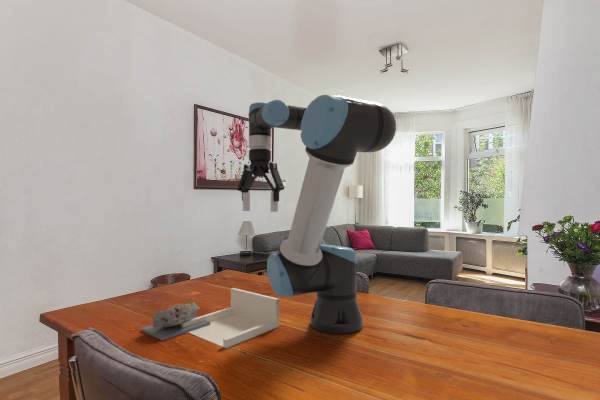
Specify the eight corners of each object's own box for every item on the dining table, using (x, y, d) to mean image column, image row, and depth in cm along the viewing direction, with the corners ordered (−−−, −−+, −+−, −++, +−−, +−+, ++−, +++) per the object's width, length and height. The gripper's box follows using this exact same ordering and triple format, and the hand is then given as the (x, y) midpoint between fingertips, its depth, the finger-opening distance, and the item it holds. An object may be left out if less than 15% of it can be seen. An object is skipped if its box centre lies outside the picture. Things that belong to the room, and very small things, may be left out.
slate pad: (210, 324, 102) (210, 322, 102) (162, 340, 90) (162, 337, 90) (188, 316, 109) (188, 314, 109) (141, 330, 97) (141, 327, 97)
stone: (179, 304, 108) (203, 298, 104) (181, 323, 107) (206, 318, 103) (143, 310, 97) (168, 303, 93) (144, 332, 95) (171, 326, 91)
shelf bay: (279, 327, 101) (279, 298, 101) (226, 349, 86) (226, 315, 86) (233, 313, 113) (233, 287, 113) (180, 330, 98) (180, 301, 98)
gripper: (294, 147, 115) (294, 211, 115) (243, 153, 130) (243, 210, 130) (279, 144, 109) (279, 212, 109) (227, 151, 125) (227, 210, 125)
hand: (259, 211), depth 120 cm, fingers open, 13 cm apart
